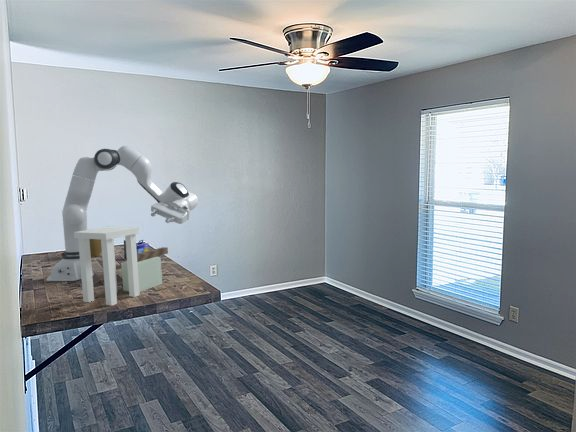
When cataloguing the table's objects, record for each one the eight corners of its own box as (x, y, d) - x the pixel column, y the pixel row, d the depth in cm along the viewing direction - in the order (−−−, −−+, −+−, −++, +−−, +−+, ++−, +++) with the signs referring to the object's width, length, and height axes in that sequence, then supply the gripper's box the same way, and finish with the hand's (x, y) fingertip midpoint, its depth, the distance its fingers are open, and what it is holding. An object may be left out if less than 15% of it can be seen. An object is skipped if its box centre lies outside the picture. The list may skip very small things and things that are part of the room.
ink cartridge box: (138, 266, 254) (137, 241, 253) (131, 265, 256) (129, 241, 255) (150, 262, 263) (148, 239, 262) (142, 262, 265) (141, 238, 264)
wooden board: (133, 263, 199) (132, 256, 198) (128, 262, 200) (127, 256, 200) (167, 253, 221) (167, 247, 220) (163, 253, 222) (162, 247, 221)
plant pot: (100, 258, 283) (98, 233, 281) (77, 258, 283) (75, 234, 282) (110, 253, 298) (108, 230, 296) (88, 254, 298) (86, 231, 296)
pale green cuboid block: (138, 292, 198) (136, 264, 196) (123, 290, 202) (121, 263, 200) (162, 283, 212) (160, 257, 211) (147, 282, 216) (146, 256, 215)
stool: (111, 306, 178) (105, 233, 175) (79, 302, 185) (73, 232, 182) (143, 294, 194) (138, 227, 191) (112, 291, 202) (107, 226, 198)
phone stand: (136, 259, 276) (135, 240, 275) (126, 260, 273) (125, 241, 272) (134, 256, 284) (132, 238, 282) (124, 258, 281) (123, 239, 280)
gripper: (161, 197, 239) (143, 205, 228) (192, 210, 233) (175, 219, 222) (160, 207, 242) (143, 216, 231) (191, 220, 236) (174, 230, 225)
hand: (159, 218), depth 226 cm, fingers open, 8 cm apart
